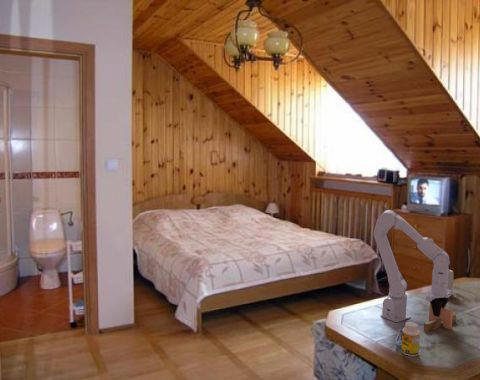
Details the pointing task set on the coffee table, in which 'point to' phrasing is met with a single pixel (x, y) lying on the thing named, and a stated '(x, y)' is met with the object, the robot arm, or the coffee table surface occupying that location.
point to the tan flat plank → (442, 317)
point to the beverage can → (450, 280)
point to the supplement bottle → (410, 339)
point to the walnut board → (436, 324)
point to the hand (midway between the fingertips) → (437, 315)
